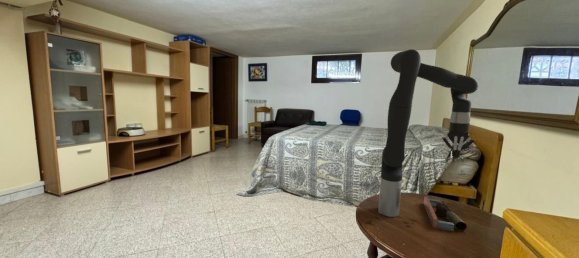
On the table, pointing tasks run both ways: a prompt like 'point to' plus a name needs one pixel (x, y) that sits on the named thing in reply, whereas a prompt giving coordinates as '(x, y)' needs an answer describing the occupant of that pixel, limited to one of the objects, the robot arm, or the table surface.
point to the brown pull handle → (432, 216)
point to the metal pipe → (450, 216)
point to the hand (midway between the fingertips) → (455, 157)
